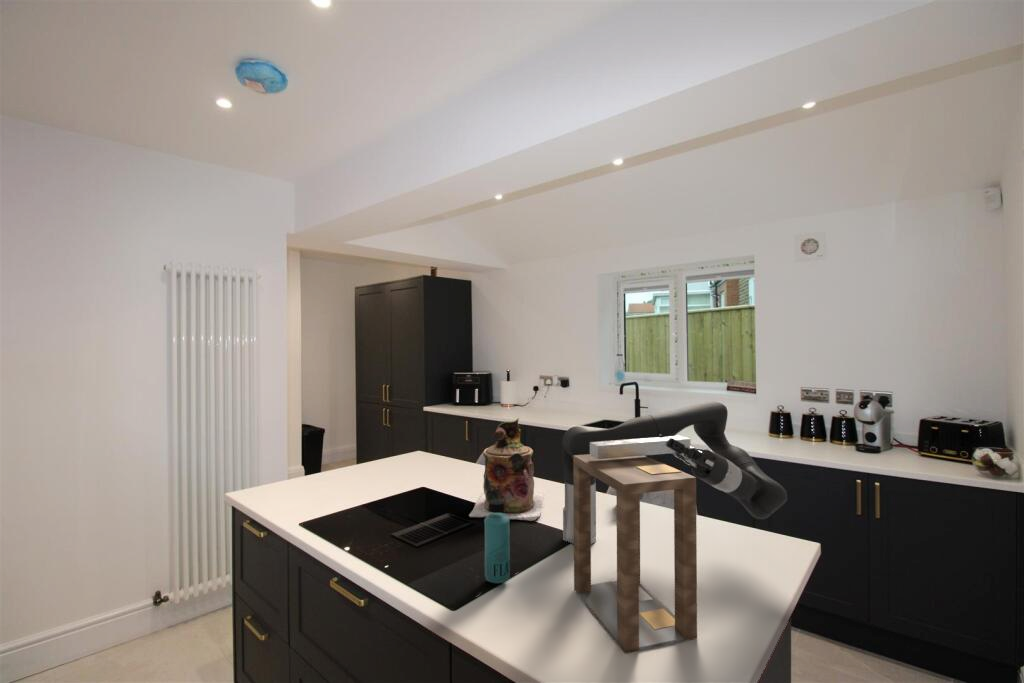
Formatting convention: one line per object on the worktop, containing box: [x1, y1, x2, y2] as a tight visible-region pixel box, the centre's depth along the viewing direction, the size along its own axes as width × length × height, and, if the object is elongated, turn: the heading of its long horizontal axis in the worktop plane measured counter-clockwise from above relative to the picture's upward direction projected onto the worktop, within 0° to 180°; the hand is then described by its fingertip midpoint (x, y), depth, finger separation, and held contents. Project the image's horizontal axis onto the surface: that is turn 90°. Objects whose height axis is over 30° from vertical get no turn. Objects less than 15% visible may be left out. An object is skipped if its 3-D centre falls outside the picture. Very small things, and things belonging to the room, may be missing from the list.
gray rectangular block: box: [590, 435, 692, 459], centre depth 110 cm, size 24×4×3 cm, turn 106°
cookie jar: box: [468, 417, 546, 522], centre depth 168 cm, size 25×25×32 cm
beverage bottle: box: [483, 500, 511, 584], centre depth 116 cm, size 6×7×20 cm
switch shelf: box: [573, 454, 698, 654], centre depth 103 cm, size 16×24×32 cm, turn 16°
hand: (663, 440), depth 111 cm, fingers closed on gray rectangular block, 3 cm apart
